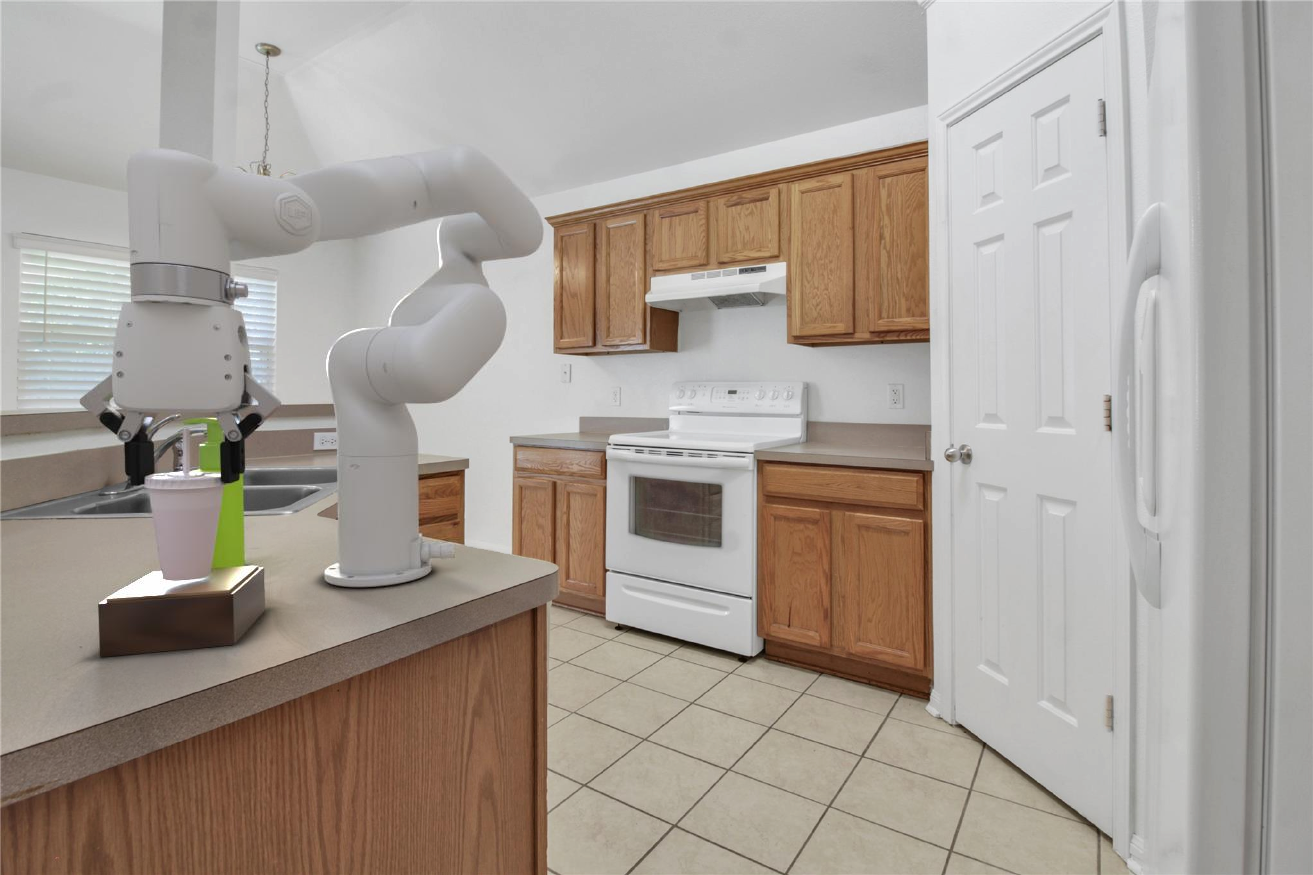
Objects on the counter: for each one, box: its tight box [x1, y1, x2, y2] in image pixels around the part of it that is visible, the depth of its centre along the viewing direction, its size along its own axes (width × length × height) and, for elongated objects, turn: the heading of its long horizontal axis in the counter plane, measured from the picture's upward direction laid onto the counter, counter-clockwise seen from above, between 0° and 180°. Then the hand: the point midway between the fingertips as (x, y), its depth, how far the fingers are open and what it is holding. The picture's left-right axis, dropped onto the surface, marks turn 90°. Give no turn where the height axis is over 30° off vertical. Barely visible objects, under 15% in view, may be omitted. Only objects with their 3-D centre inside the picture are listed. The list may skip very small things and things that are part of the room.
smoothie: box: [143, 428, 228, 581], centre depth 60 cm, size 6×6×14 cm
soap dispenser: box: [181, 417, 246, 568], centre depth 82 cm, size 6×7×20 cm
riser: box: [97, 565, 266, 658], centre depth 60 cm, size 10×10×5 cm
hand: (187, 481), depth 60 cm, fingers closed on smoothie, 6 cm apart
